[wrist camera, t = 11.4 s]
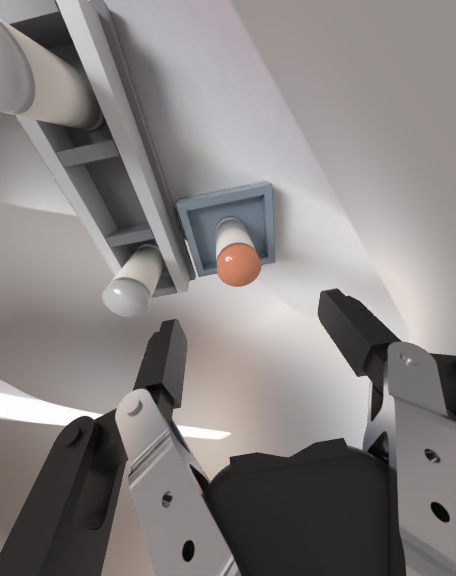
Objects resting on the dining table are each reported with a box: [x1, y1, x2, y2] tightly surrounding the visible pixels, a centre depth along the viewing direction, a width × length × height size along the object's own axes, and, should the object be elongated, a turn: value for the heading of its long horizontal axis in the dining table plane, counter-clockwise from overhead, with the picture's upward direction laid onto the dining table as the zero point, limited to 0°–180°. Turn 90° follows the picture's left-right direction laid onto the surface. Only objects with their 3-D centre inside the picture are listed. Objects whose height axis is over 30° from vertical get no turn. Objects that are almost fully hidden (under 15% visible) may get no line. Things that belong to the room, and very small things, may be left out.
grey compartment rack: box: [0, 0, 196, 298], centre depth 19 cm, size 8×23×4 cm, turn 10°
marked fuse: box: [215, 216, 261, 287], centre depth 19 cm, size 4×4×9 cm
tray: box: [176, 181, 275, 277], centre depth 22 cm, size 10×9×3 cm
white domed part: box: [0, 19, 106, 131], centre depth 12 cm, size 4×4×9 cm
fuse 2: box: [102, 242, 166, 317], centre depth 20 cm, size 4×4×9 cm
